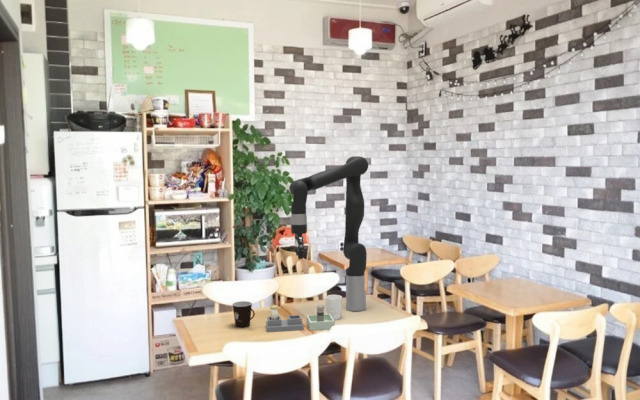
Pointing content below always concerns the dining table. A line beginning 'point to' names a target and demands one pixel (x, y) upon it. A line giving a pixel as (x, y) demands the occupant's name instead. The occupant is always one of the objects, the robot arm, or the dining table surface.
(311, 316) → the parts tray
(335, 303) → the white cup
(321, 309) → the fuse
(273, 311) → the fuse
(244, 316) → the coffee mug
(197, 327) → the dining table surface
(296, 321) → the fuse block
